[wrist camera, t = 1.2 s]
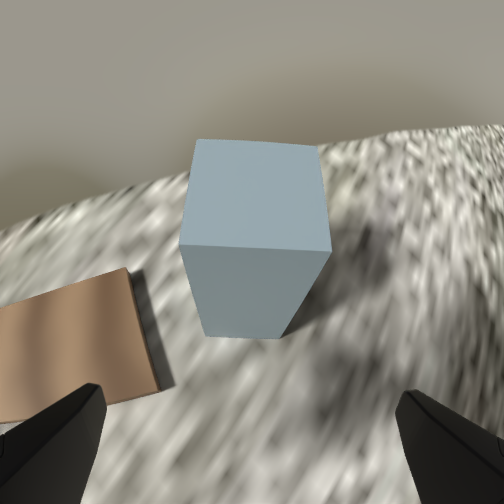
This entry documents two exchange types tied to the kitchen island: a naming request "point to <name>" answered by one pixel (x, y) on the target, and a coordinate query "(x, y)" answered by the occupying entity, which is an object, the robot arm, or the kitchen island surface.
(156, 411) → the kitchen island surface
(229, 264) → the slate-blue post
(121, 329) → the tan flat board
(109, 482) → the kitchen island surface
